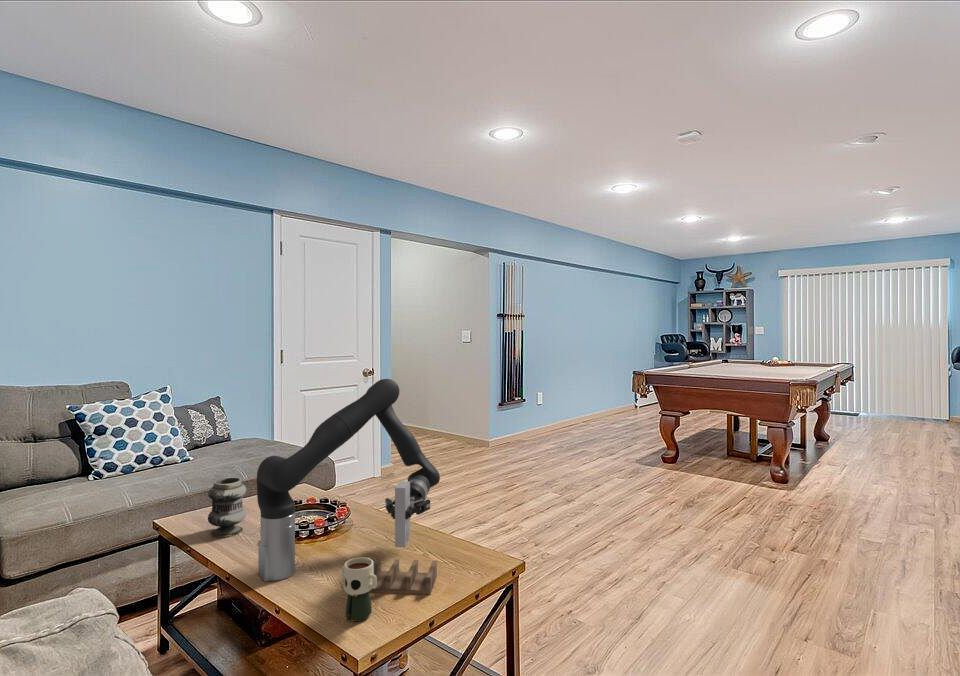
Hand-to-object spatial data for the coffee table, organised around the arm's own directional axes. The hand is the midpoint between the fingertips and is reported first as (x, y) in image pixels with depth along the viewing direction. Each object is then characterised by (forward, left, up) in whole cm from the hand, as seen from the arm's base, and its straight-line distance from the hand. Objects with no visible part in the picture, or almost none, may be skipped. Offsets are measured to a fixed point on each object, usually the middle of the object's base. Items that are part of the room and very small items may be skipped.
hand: (400, 515), depth 140 cm
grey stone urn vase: (-27, +71, -20) cm, 79 cm away
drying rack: (+2, +2, -20) cm, 20 cm away
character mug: (-15, -5, -20) cm, 25 cm away
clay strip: (+2, +2, -8) cm, 9 cm away
